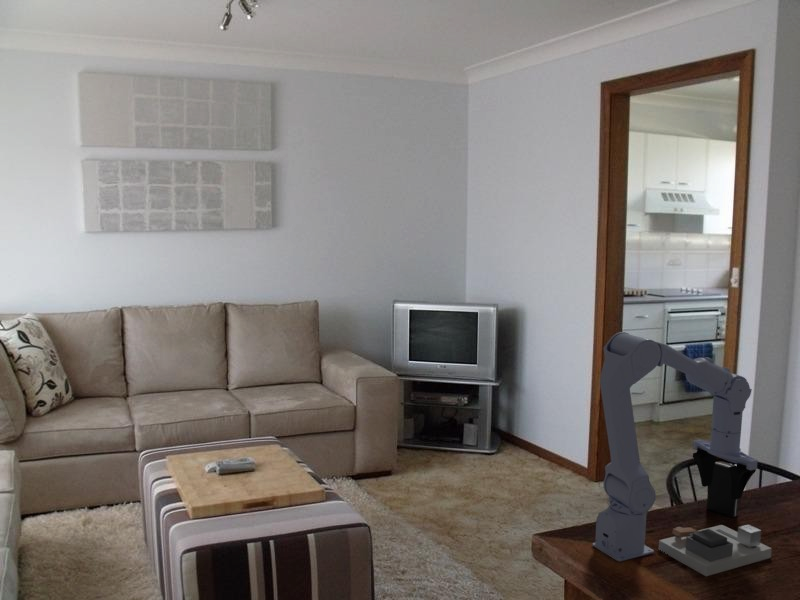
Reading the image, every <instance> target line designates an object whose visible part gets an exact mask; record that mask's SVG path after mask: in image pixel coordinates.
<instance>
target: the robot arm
mask: <svg viewBox="0 0 800 600" xmlns="http://www.w3.org/2000/svg"><path fill="white" fill-rule="evenodd" d="M603 354H604V361H603V365H602V369H601V371H600V372H601V373H600V377H599V386H600V393H601V399H602V400H601V401H602V407H603V413H604V420H605V427H606V433H607V441H608V446H609V447H608V448H609V454H610V462H609V463H607V465H605V466H604V470H605V476H604V478H603V479H604V480H603V490H604V492H605V493H606V495H607V496H608V502H609V505H608V506H607V508H606V509H604V510H603V511H601V512H599V513H598V515H597V516H596V520H595V521H596V522H595V537H594V538H595V539H594V540H595V542H592V546H593V547H594V548H595V549H597V550H599V551H600V552H602V553H603V554H605V555H607V556H608V557H610V558H612V559H613V560H615V561H617V562H623V561H628V560H632V559H636V558H639V557H643V556H647V555H650V554H651V555H652V554H653V553H655V550H654V549H652V548H651V547H649V546H647V545H646V544H645V543H646V528H647V526H646V525H647V514H648V513H649V511H650V510H651V508H652V507H653V506H654V504H655V501H656V496H657V494H656V490H655V488H654V486H652V484H651V481H650V477H649V474H648V472H647V471H646V469H645V468H644V466H643V464H642V463H641V461H640V452H639V446H638V439H637V438H638V437H637V431H636V424H635V417H634V416H635V415H634V410H633V402H632V394H631V387H632V386H634V385H635V384H637V383H638V382H639V381H640V380H641V379H643V378H644V377H646V376H647V375H648V374H649V373H651V372H653V370H655V368H656V367H659V368H660V367H663V365H666V366H667V367H671V368H672V369H675V370H676V371H679V372H681V373H684V374H685V378H686V380H687V382H688V383H689V384H691V385H693V386H695V387H697V388H700V389H702V390H703V391H705V392H707V393H709V395H711V396H712V397H713V400H712V401H713V402H712V411H711V412H712V413H711V414H712V417H711V425H710V426H711V427H710V440H709V441H706V440H702V439H701V438H700V439H694V440H693V445H692V446H693V447H692V449H693V450H695V451H696V452H693V453H692V458H693V461H694V462H695V465H696V466H697V468H698V473H699V476H700V482H701V486H702V487H704V488H705V487H708V486H711V483H712V478H713V469H714V465H715V462H717V458H720V459H723V460H725V461H727V462H729V463H730V462H731V463H734V465H735V464H736V465H735V466H731V467H729V470H730V474H731V480H732V489H731V497H732V499H734V500H736V499H738V500H740V499H742V497H743V493H744V491H745V489H746V486H747V485H748V482H749V480H751V478H752V476H753V475H754V474H755V473H756V471H757V469H758V462H759V461H758V459H755V458H753V457H752V456H749V455H748V454H746V453H744V452H743V451H741V450H742V449H741V448H740V447H741V435H742V421H743V411H745V409H746V404H747V401H748V400H749V398H750V396H751V395H752V391H753V390H752V388H751V387H750V382H748V379H746V377H744V376H742V375H739V374H736V373H732V372H731V369H730V368H729V367H727V366H723V367H722V366H720V365H717V364H716V363H715V360H714V358H713V359H712V358H711V357H708V356H707V357H706V356H705V357H697V358H694V359H693V358H691V357H688V356H687V355H685V354H683V353H682V352H680V351H678V350H677V349H675V348H673V347H671V346H669V345H668V344H665V343H662V342H658V341H655V340H653V339H649V338H644V337H640V336H636V335H633V334H630V333H628V332H625V331H619V332H616V333H614V334H613V335H612V336H611V337H610V338H609V340H608V341H607V343H605V345H604V346H603Z"/></svg>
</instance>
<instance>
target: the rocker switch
mask: <svg viewBox="0 0 800 600" xmlns="http://www.w3.org/2000/svg"><path fill="white" fill-rule="evenodd" d="M698 531H699V530H697V529H695V528H693V527H682V528H676V527H675V528H673V529H672V534H673V535H674V536H675V535H677V536H678V537H688V536H689V534H692V533H694V532H698Z"/></svg>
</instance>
